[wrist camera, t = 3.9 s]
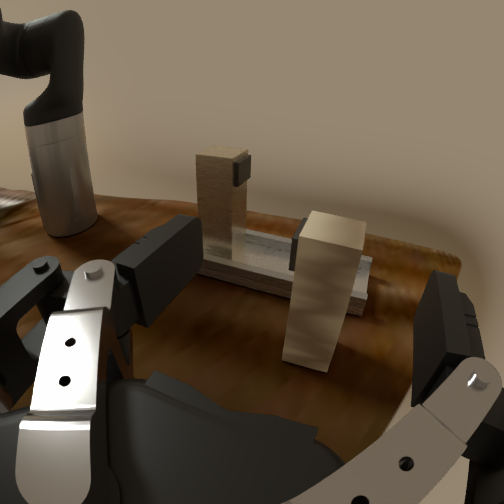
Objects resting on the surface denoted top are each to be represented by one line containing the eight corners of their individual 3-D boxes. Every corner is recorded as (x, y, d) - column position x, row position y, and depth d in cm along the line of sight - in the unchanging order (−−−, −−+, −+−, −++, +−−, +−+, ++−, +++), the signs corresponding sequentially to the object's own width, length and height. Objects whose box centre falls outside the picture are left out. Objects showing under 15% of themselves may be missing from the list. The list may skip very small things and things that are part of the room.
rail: (170, 265, 37) (159, 157, 30) (203, 234, 44) (199, 139, 36) (361, 316, 31) (395, 195, 24) (368, 272, 37) (392, 169, 30)
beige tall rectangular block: (275, 358, 26) (291, 234, 20) (289, 327, 30) (305, 209, 23) (326, 372, 25) (362, 250, 19) (335, 339, 28) (366, 222, 22)
